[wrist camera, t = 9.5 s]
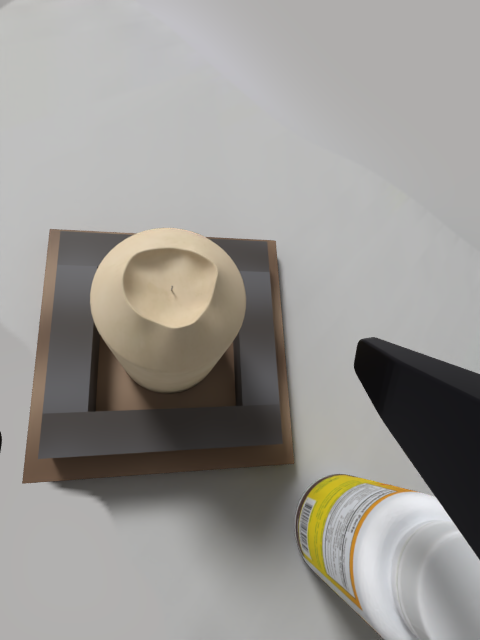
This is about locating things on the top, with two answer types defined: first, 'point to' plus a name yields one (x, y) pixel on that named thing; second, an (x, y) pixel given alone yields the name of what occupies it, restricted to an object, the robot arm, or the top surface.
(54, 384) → the socket
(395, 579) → the supplement bottle
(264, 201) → the top surface
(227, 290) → the candle
